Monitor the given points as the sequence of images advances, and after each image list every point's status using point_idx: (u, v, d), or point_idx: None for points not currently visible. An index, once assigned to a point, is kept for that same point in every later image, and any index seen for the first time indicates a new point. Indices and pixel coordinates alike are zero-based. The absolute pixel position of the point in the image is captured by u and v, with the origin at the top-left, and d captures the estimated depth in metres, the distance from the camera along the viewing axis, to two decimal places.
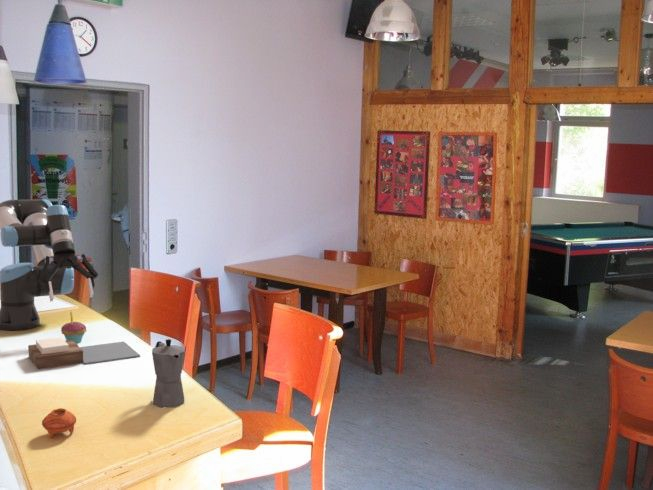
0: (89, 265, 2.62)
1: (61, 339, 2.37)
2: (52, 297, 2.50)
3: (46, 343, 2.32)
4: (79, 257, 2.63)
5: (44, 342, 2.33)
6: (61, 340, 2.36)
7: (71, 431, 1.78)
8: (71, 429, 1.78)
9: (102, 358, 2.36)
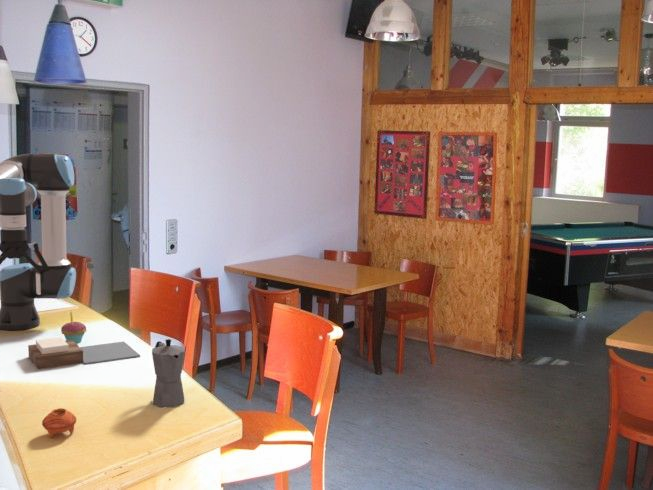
0: (41, 258, 2.27)
1: (61, 339, 2.37)
2: None
3: (46, 343, 2.32)
4: (31, 246, 2.26)
5: (44, 342, 2.33)
6: (61, 340, 2.36)
7: (71, 431, 1.78)
8: (71, 429, 1.78)
9: (102, 358, 2.36)
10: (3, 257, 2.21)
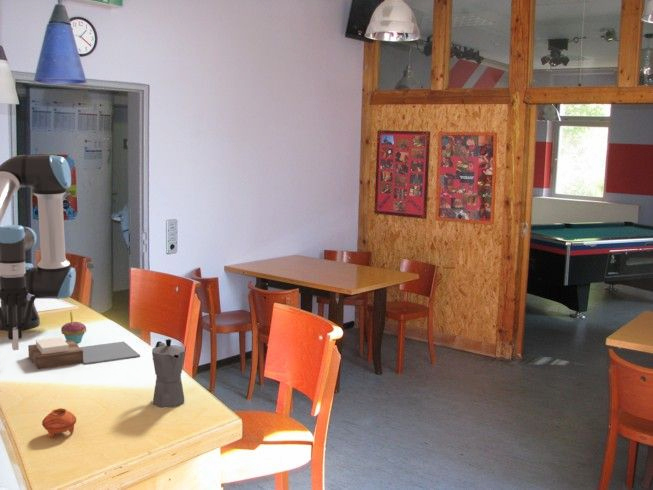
0: (28, 311, 2.27)
1: (61, 339, 2.37)
2: (14, 349, 2.26)
3: (46, 343, 2.32)
4: (29, 296, 2.27)
5: (44, 342, 2.33)
6: (61, 340, 2.36)
7: (71, 431, 1.78)
8: (71, 429, 1.78)
9: (102, 358, 2.36)
10: (9, 306, 2.23)
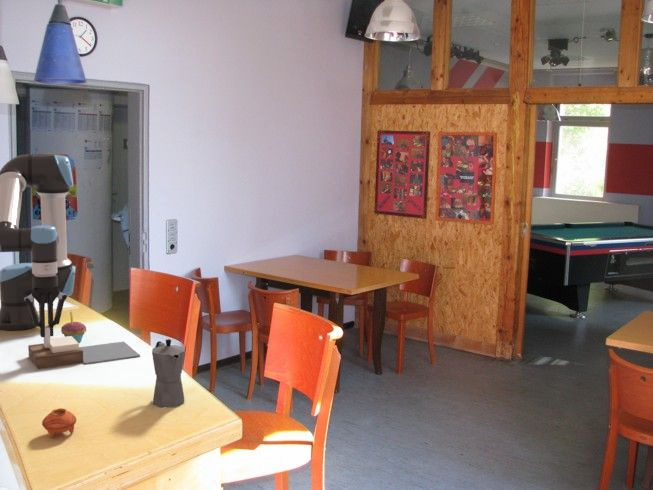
0: (60, 310, 2.32)
1: (71, 338, 2.39)
2: (46, 346, 2.31)
3: (56, 342, 2.34)
4: (60, 295, 2.32)
5: (54, 341, 2.35)
6: (72, 339, 2.38)
7: (71, 431, 1.78)
8: (71, 429, 1.78)
9: (102, 358, 2.36)
10: (42, 305, 2.28)
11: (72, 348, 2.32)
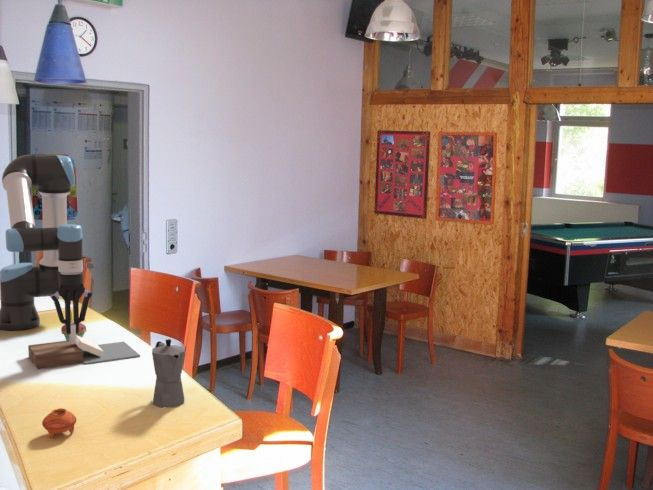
0: (85, 307, 2.36)
1: (96, 345, 2.43)
2: (72, 343, 2.36)
3: (84, 341, 2.39)
4: (85, 292, 2.36)
5: (82, 339, 2.39)
6: (97, 345, 2.42)
7: (71, 431, 1.78)
8: (71, 429, 1.78)
9: (102, 358, 2.36)
10: (68, 302, 2.33)
11: (96, 353, 2.36)
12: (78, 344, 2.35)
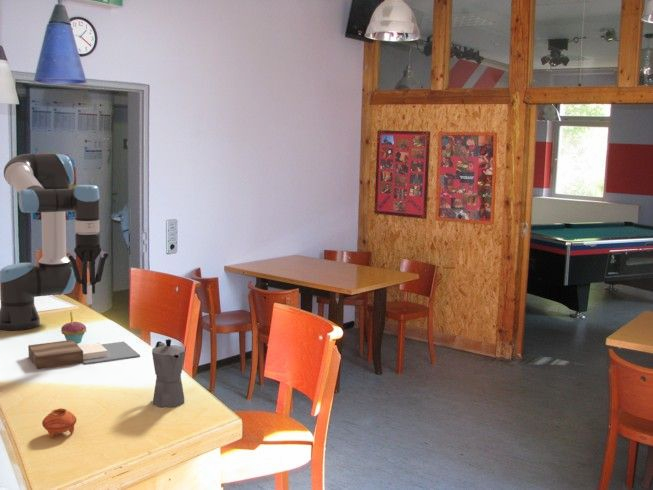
0: (101, 267, 2.38)
1: (99, 345, 2.44)
2: (88, 303, 2.37)
3: (85, 349, 2.39)
4: (102, 253, 2.38)
5: (83, 348, 2.40)
6: (100, 346, 2.43)
7: (71, 431, 1.78)
8: (71, 429, 1.78)
9: (102, 358, 2.36)
10: (84, 262, 2.34)
11: (101, 355, 2.37)
12: None
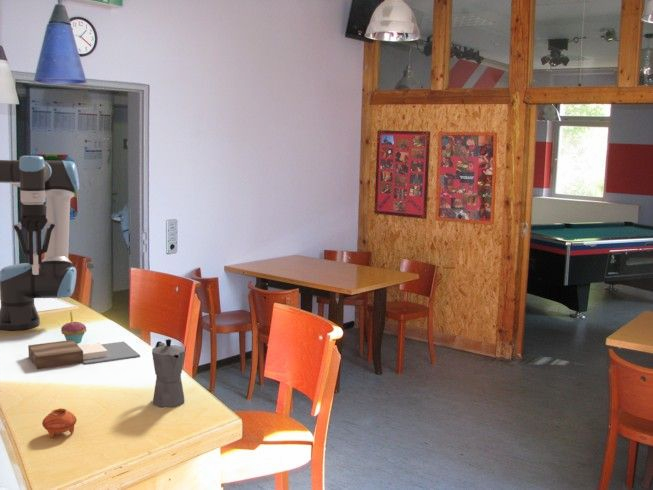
0: (48, 238, 2.40)
1: (99, 345, 2.44)
2: (35, 273, 2.39)
3: (85, 349, 2.39)
4: (48, 224, 2.40)
5: (83, 348, 2.40)
6: (100, 346, 2.43)
7: (71, 431, 1.78)
8: (71, 429, 1.78)
9: (102, 358, 2.36)
10: (30, 232, 2.36)
11: (101, 355, 2.37)
12: None
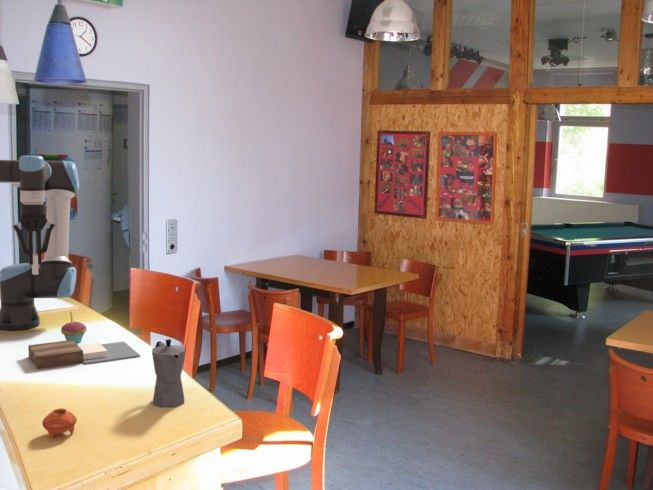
0: (47, 238, 2.39)
1: (99, 345, 2.44)
2: (34, 273, 2.39)
3: (85, 349, 2.39)
4: (48, 223, 2.40)
5: (83, 348, 2.40)
6: (100, 346, 2.43)
7: (71, 431, 1.78)
8: (71, 429, 1.78)
9: (102, 358, 2.36)
10: (30, 232, 2.36)
11: (101, 355, 2.37)
12: None
